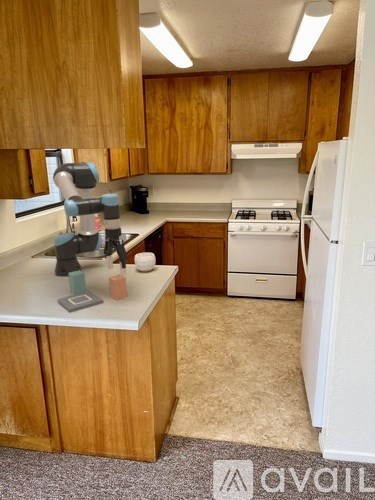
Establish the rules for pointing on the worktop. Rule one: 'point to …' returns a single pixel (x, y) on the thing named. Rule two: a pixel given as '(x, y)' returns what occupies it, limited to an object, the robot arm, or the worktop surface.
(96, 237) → the robot arm
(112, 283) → the terracotta block
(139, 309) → the worktop surface
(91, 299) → the base plate
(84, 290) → the teal block
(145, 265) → the cup
